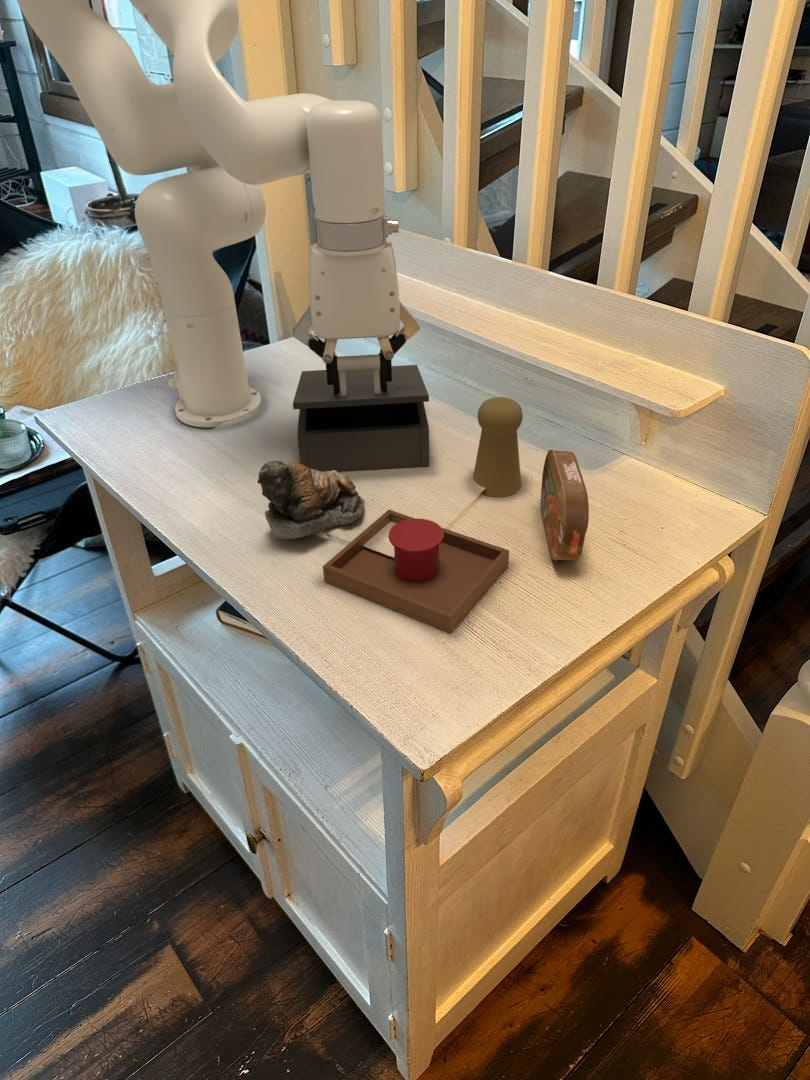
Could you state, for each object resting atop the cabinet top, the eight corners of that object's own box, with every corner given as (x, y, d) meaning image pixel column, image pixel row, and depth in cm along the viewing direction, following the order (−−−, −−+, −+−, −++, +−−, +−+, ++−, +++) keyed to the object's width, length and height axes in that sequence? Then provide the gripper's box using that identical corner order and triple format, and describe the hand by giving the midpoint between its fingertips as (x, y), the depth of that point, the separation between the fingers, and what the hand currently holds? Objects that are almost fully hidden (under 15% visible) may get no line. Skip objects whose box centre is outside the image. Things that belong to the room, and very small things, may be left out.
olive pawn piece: (519, 499, 90) (525, 415, 84) (469, 494, 91) (471, 412, 85) (523, 473, 95) (529, 392, 89) (475, 469, 96) (477, 389, 90)
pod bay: (429, 473, 96) (428, 427, 92) (302, 480, 95) (297, 434, 91) (418, 412, 110) (417, 370, 106) (307, 419, 109) (302, 377, 105)
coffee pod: (379, 574, 79) (377, 539, 76) (408, 547, 82) (407, 512, 80) (426, 592, 76) (425, 556, 74) (453, 562, 80) (453, 528, 77)
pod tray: (324, 581, 79) (322, 566, 78) (389, 523, 87) (388, 509, 86) (450, 633, 72) (450, 617, 71) (508, 565, 80) (509, 550, 79)
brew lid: (429, 401, 89) (427, 355, 87) (293, 409, 89) (288, 363, 87) (417, 370, 106) (415, 330, 103) (302, 376, 105) (298, 337, 103)
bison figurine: (347, 498, 92) (340, 424, 86) (378, 525, 87) (374, 448, 81) (257, 533, 86) (243, 456, 80) (285, 563, 81) (273, 484, 76)
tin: (538, 498, 90) (543, 435, 86) (564, 497, 90) (571, 435, 85) (554, 577, 78) (561, 509, 73) (584, 577, 78) (594, 509, 73)
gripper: (425, 220, 85) (425, 371, 96) (273, 227, 84) (290, 379, 95) (433, 238, 79) (432, 397, 90) (269, 246, 78) (289, 406, 89)
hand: (359, 386), depth 93 cm, fingers closed on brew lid, 5 cm apart
